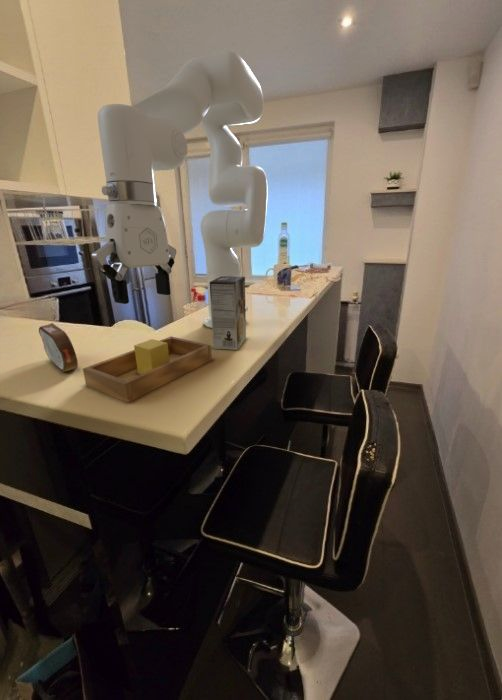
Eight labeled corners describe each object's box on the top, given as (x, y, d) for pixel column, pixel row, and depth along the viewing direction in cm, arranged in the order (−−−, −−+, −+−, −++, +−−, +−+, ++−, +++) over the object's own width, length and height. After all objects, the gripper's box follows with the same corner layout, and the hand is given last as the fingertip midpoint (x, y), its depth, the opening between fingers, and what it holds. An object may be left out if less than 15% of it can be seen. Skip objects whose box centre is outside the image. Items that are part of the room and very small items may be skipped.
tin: (81, 373, 65) (73, 333, 63) (64, 378, 63) (55, 337, 60) (58, 354, 76) (50, 319, 73) (43, 358, 74) (34, 322, 71)
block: (155, 365, 69) (151, 338, 67) (170, 370, 67) (167, 342, 65) (137, 373, 65) (133, 345, 63) (153, 378, 63) (149, 349, 61)
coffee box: (223, 337, 87) (220, 275, 81) (246, 338, 85) (245, 276, 80) (212, 348, 78) (208, 281, 73) (238, 350, 77) (236, 282, 71)
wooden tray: (172, 350, 78) (171, 336, 76) (211, 360, 72) (211, 345, 70) (86, 385, 60) (82, 368, 59) (128, 403, 54) (125, 384, 53)
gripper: (99, 190, 46) (116, 309, 52) (185, 199, 60) (191, 293, 65) (69, 193, 50) (88, 304, 56) (156, 201, 63) (164, 290, 69)
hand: (144, 298), depth 60 cm, fingers open, 9 cm apart
